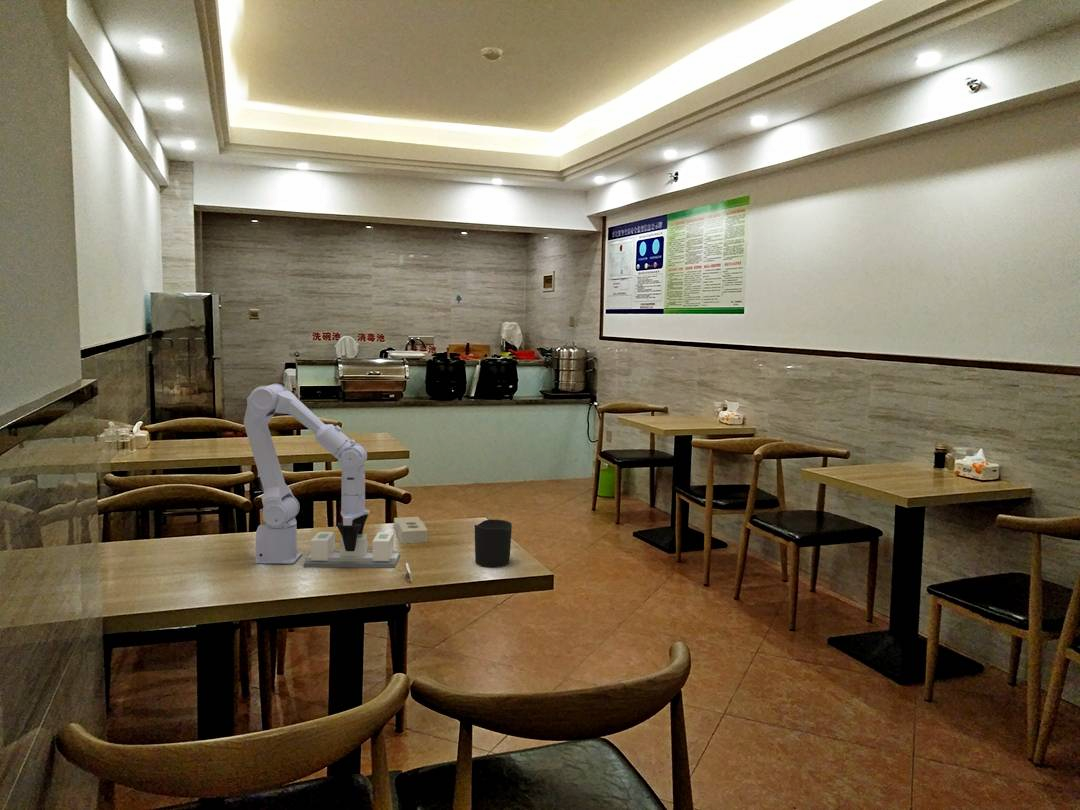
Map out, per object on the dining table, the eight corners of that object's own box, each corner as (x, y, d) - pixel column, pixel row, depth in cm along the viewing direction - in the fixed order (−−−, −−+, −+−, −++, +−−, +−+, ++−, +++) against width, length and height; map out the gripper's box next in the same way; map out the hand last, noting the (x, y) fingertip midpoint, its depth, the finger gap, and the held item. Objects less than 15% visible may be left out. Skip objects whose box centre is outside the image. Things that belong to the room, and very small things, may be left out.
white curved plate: (396, 585, 172) (396, 573, 172) (393, 574, 180) (393, 562, 180) (412, 584, 173) (412, 572, 173) (409, 573, 181) (409, 561, 181)
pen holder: (516, 566, 187) (517, 527, 186) (480, 570, 184) (481, 530, 183) (503, 555, 196) (504, 518, 195) (469, 559, 192) (469, 521, 191)
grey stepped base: (303, 567, 182) (303, 540, 182) (314, 554, 192) (313, 529, 192) (394, 567, 184) (394, 541, 183) (400, 555, 193) (400, 530, 193)
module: (339, 558, 186) (339, 538, 185) (343, 553, 190) (343, 533, 189) (364, 558, 186) (364, 538, 185) (367, 553, 190) (367, 534, 189)
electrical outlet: (418, 513, 223) (428, 529, 206) (418, 526, 223) (427, 543, 206) (394, 514, 221) (401, 530, 204) (393, 528, 221) (401, 545, 204)
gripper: (364, 500, 179) (364, 555, 181) (374, 487, 194) (374, 538, 195) (334, 499, 179) (334, 554, 180) (346, 487, 193) (347, 538, 195)
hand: (353, 546), depth 188 cm, fingers open, 7 cm apart
